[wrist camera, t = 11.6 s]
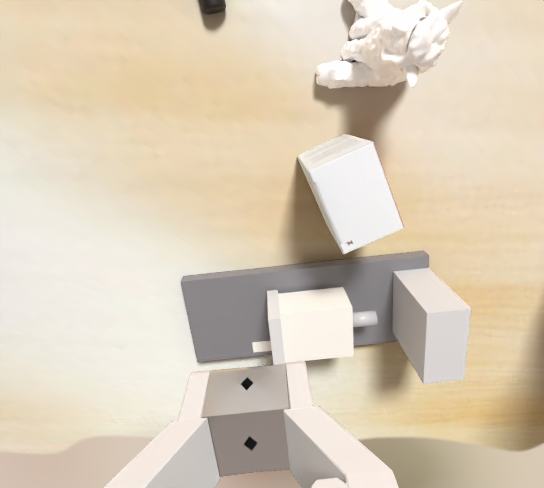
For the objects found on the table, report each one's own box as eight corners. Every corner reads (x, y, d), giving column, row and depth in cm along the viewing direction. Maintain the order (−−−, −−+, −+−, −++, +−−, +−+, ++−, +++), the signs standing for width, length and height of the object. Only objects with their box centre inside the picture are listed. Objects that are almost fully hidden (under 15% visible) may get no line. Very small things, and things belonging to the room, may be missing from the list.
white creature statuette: (350, -26, 33) (397, -95, 22) (434, 13, 34) (519, -32, 23) (309, 82, 36) (332, 70, 25) (388, 114, 37) (443, 118, 26)
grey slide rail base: (199, 354, 46) (182, 420, 37) (183, 276, 43) (160, 326, 33) (419, 331, 46) (462, 391, 36) (423, 250, 42) (472, 293, 33)
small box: (370, 200, 40) (406, 230, 30) (323, 221, 41) (343, 257, 31) (345, 131, 38) (375, 139, 28) (295, 154, 38) (307, 171, 28)
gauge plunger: (274, 355, 44) (276, 391, 39) (267, 290, 41) (268, 319, 36) (370, 346, 44) (386, 380, 39) (369, 280, 41) (386, 307, 36)
